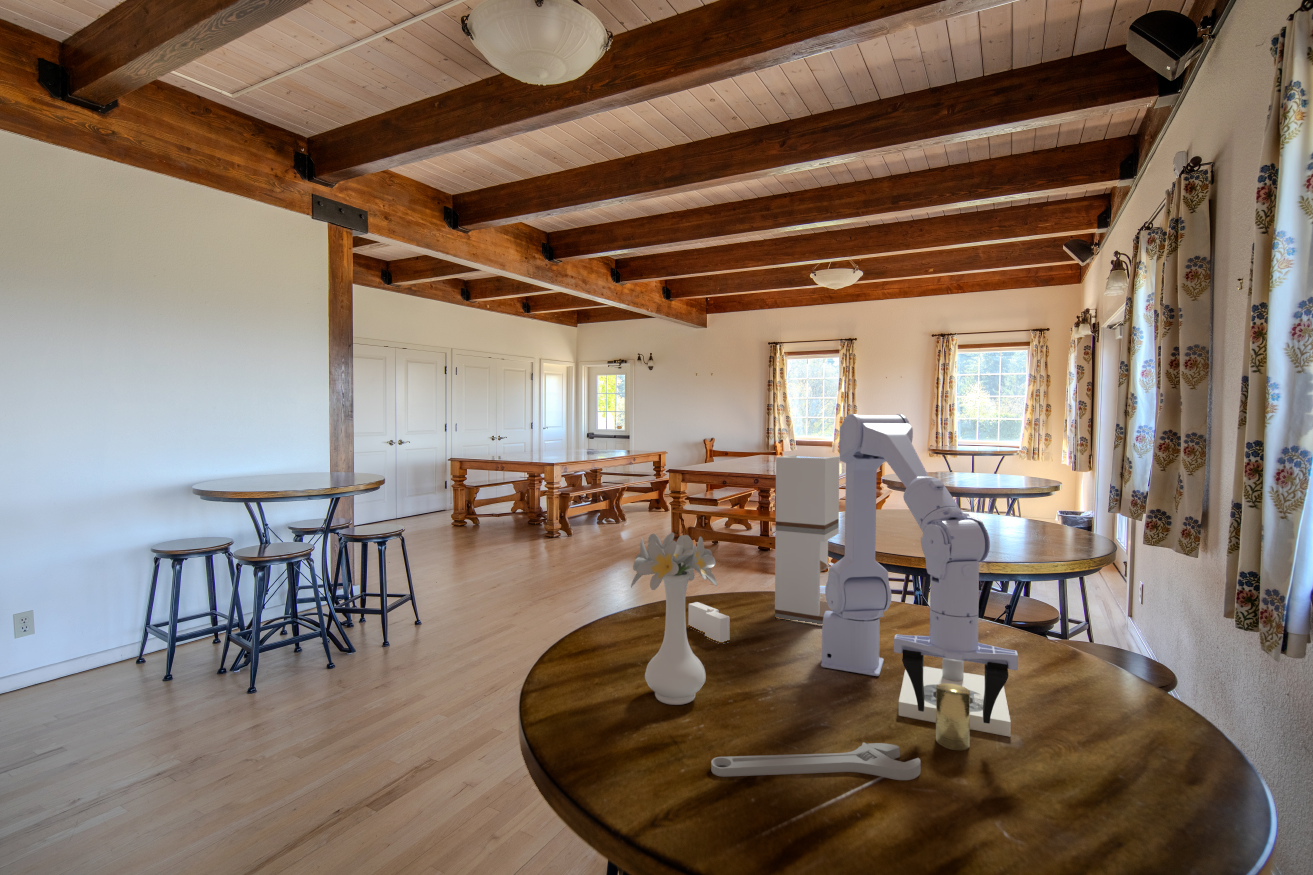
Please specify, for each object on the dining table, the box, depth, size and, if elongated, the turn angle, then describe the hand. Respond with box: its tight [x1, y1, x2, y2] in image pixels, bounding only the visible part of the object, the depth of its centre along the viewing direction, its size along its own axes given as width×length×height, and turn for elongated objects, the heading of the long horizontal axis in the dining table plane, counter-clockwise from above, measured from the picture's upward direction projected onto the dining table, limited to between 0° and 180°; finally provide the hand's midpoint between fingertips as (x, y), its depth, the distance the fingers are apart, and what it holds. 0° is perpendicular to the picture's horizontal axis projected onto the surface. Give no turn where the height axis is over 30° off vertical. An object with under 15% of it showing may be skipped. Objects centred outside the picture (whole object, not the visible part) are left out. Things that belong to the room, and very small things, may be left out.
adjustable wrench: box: [710, 742, 922, 781], centre depth 76 cm, size 25×6×2 cm, turn 89°
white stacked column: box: [774, 454, 840, 624], centre depth 136 cm, size 11×11×35 cm
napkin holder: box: [687, 601, 731, 642], centre depth 123 cm, size 15×11×6 cm
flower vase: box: [630, 532, 718, 706], centre depth 95 cm, size 13×18×25 cm
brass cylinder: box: [935, 683, 971, 751], centre depth 81 cm, size 4×4×7 cm
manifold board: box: [898, 658, 1012, 738], centre depth 93 cm, size 14×16×5 cm
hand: (953, 713), depth 81 cm, fingers open, 7 cm apart
